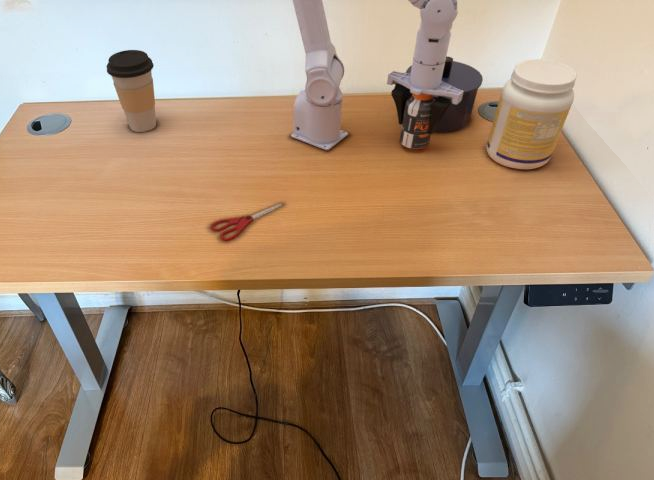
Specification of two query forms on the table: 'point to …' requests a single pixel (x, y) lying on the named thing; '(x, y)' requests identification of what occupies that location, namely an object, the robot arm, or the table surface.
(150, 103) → the coffee cup
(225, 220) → the scissors
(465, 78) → the pot lid
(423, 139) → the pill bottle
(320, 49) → the robot arm
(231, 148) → the table surface
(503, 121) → the supplement tub
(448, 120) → the pot
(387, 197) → the table surface
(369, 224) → the table surface
